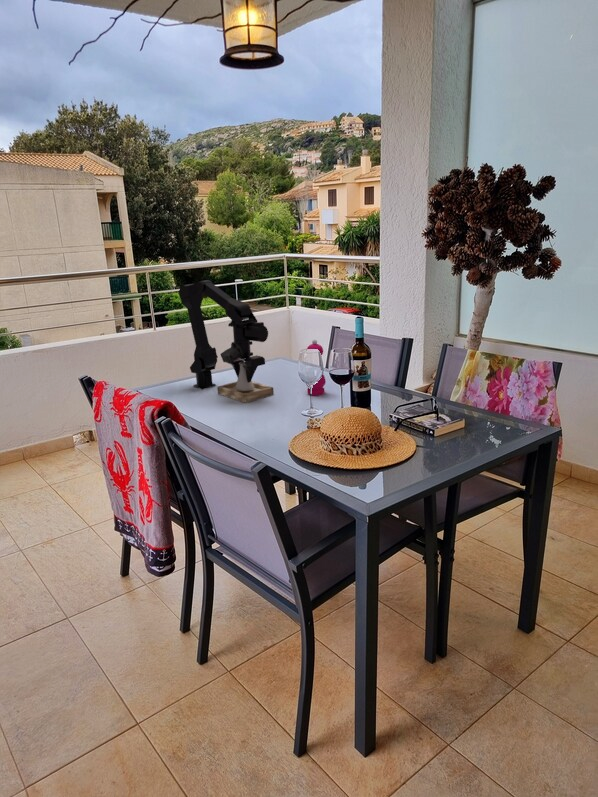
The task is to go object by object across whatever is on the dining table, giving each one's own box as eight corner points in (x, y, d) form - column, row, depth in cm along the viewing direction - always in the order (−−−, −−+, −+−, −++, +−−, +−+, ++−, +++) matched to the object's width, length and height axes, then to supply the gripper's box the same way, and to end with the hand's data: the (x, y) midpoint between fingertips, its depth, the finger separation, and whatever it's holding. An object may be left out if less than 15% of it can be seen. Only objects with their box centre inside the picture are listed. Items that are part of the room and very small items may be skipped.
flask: (253, 391, 202) (252, 364, 199) (233, 392, 203) (232, 365, 199) (255, 385, 209) (254, 360, 206) (236, 386, 209) (234, 360, 206)
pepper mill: (302, 392, 206) (300, 339, 200) (319, 389, 209) (318, 336, 203) (312, 397, 200) (310, 342, 194) (329, 394, 203) (328, 340, 197)
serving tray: (217, 393, 208) (217, 386, 207) (245, 386, 217) (244, 379, 216) (245, 403, 196) (245, 395, 195) (273, 394, 205) (273, 387, 204)
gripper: (208, 339, 201) (211, 380, 206) (239, 346, 188) (242, 390, 193) (233, 334, 209) (235, 374, 213) (264, 341, 196) (267, 383, 200)
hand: (244, 380), depth 205 cm, fingers closed on flask, 5 cm apart
